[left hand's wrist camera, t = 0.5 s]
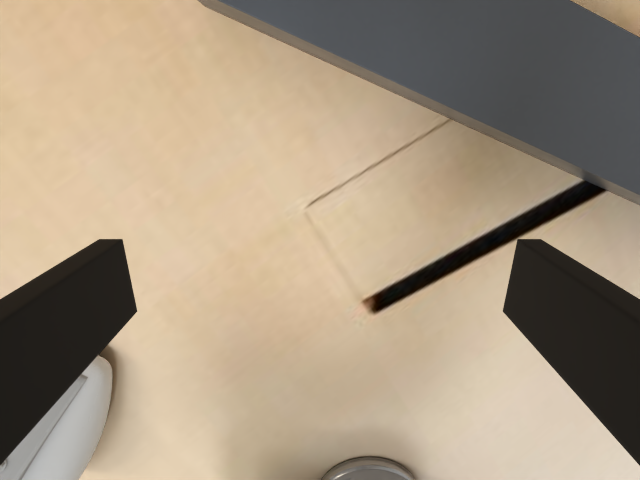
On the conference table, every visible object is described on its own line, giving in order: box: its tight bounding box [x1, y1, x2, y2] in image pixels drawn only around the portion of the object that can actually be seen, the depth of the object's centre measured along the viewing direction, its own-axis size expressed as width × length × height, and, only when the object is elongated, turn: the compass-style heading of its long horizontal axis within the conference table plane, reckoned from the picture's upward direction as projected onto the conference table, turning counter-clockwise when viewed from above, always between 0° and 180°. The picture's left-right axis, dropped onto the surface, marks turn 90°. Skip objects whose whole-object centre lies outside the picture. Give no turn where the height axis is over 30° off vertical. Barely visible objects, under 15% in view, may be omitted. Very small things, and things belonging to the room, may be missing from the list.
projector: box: [0, 355, 112, 480], centre depth 42 cm, size 22×23×15 cm
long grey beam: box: [198, 0, 640, 205], centre depth 32 cm, size 66×10×7 cm, turn 68°
